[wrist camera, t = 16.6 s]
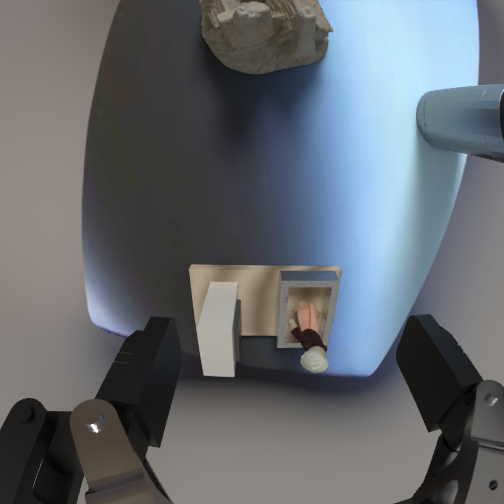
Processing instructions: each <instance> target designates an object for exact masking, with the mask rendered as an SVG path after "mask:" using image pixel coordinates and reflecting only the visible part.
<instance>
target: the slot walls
mask: <svg viewBox="0 0 504 504" xmlns="http://www.w3.org/2000/svg"><path fill="white" fill-rule="evenodd" d="M339 284H340V280H339V278H338V276H337V274H336V272H335V271H288V270H280V284H279V301H278V316H277V331H276V340H277V348H301V347H303V346H302V345H301V343H300V342H299V341H298V340H297V339H296V338H295V337H294V336H293V335H292V333H291V331H285V327H286V316H287V304H288V292H289V287H326V290H325V297H324V303H323V310H322V316H321V322H320V327H319V330H318V334H319V335H320V337H321V339H322V341H323V342H326V343H327V346H328V341H329V337H330V332H331V327H332V322H333V317H334V312H335V306H336V301H337V295H338V290H339Z"/></svg>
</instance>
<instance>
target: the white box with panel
mask: <svg viewBox="0 0 504 504" xmlns="http://www.w3.org/2000/svg"><path fill="white" fill-rule="evenodd" d="M197 335H198V342H199V349H200V355H201V362H202V368H203V374H204V375H206V376H224V377H234V375H235V364H236V361H240V350H241V337H242V321H241V300H239V299H238V282H210V285H209V288H208V292H207V295H206V298H205V302H204V305H203V309H202V312H201V316H200V319H199V322H198V326H197Z"/></svg>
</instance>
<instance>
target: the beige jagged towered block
mask: <svg viewBox="0 0 504 504" xmlns="http://www.w3.org/2000/svg"><path fill="white" fill-rule="evenodd" d="M198 1H199V4H200V6H201V8H202V11H203V15H202V23H201V27H202V36H203V38H204V40H205V41H206V43H207V44H208V45H209V47H210V48H211V50H212V52H213V53H214V55H215V56H216V57H217V58H218V59H219V60H220V62H221V63H222V64H224V65H225V66H227V67H228V68H231V69H233V70H236V71H239V72H243V73H248V74H257V75H259V74H266V73H269V72H273V71H277V70H281V69H289V68H293V67H297V66H304V65H308V64H313V63H316V62H317V61H319V60H320V59H321V58H323V57H324V55H325V53H326V50H327V47H328V39H327V36H328V32H333V29H332V27H331V26H330V24H329V22H328V20H327V19H326V17H325V15H324V13H323V10H322V8H321V6H320V4H319V2H318V1H317V0H198Z"/></svg>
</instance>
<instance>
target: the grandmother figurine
mask: <svg viewBox="0 0 504 504" xmlns="http://www.w3.org/2000/svg"><path fill="white" fill-rule="evenodd" d="M293 312H294V313H295V314H296V315H297V319H298V323H299V326H300V328H301V330H300V328H299V327H298V326H297V324H296V322H295V320H294V319H289V320H288V325H289V326H290V329H291V333H292V335H293V336H294V337H295V338H296V339H297V340H298V341H299V342H300V343H301V345H302V346H303V348H304V349H305V351H306V352H305V353H304V355H302V356H301V365H302V366H303V367H304V368H305V369H307V370H309V371H311V372H313V373H318V372H322V371H324V370H326V369H327V367H328V361H327V359H326V351H327V343H326V342H323V341H322V339H321V337H320V335H319V334H318V327H317V319H318V318H319V317H320V311H319V310H317V309H316V308H315V305H314V304H312V303H310V304H309V303H308V302H306V301H300V302H298V304H297V305H296V306H295V308H294V309H293Z"/></svg>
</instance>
